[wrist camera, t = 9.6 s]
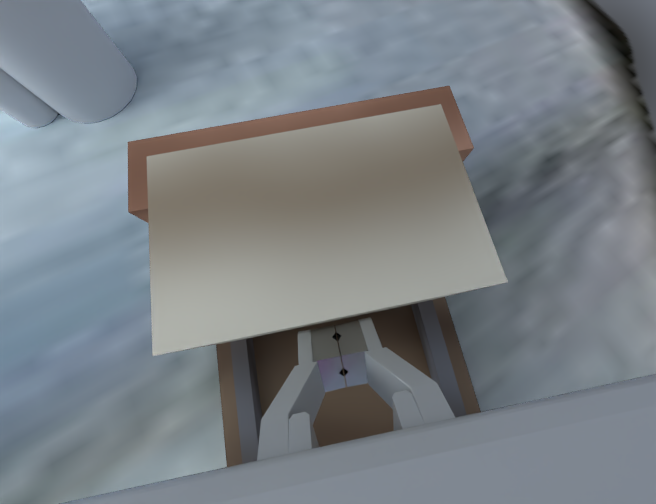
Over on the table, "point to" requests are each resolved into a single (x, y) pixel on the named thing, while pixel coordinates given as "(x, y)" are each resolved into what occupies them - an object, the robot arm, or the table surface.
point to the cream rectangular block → (311, 228)
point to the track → (282, 347)
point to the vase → (59, 64)
